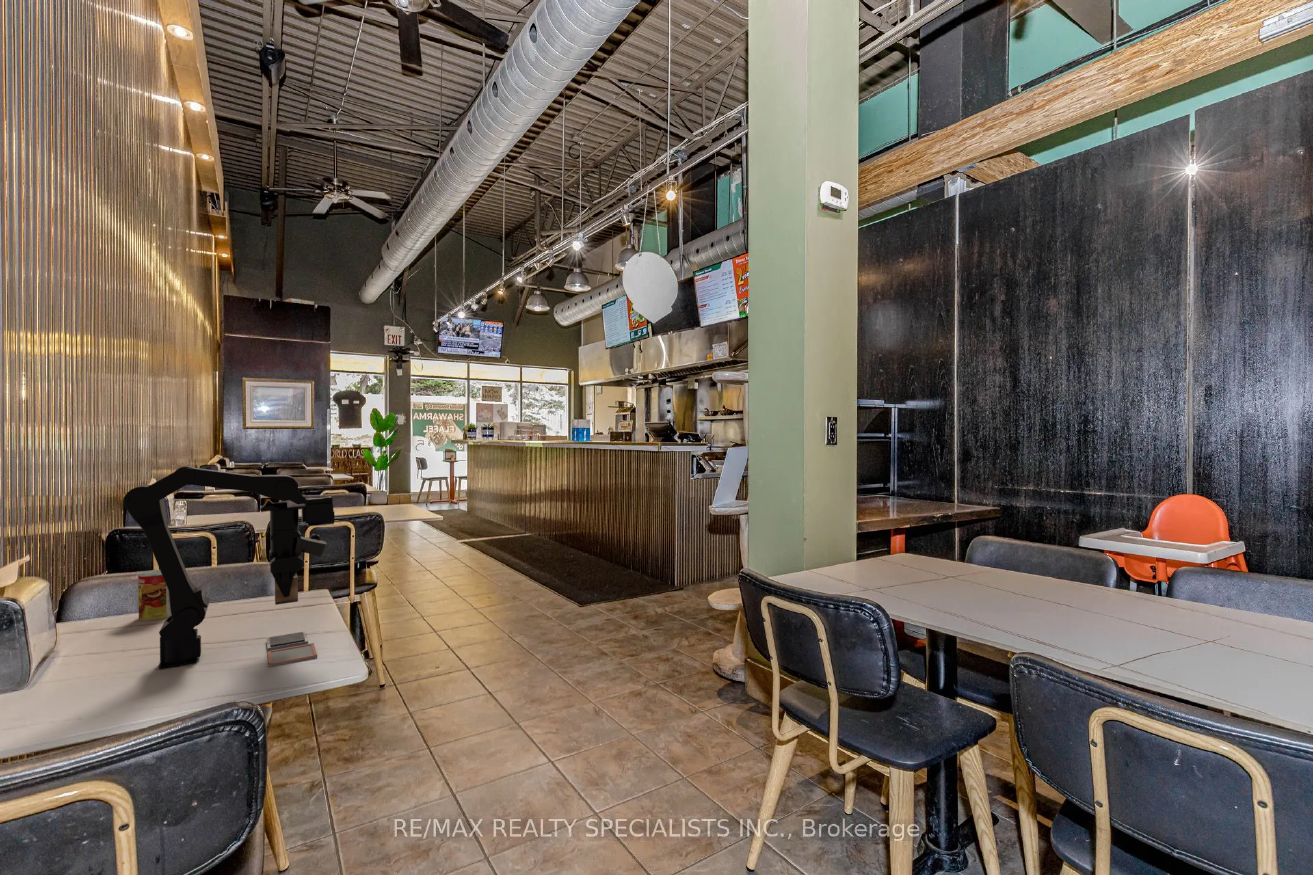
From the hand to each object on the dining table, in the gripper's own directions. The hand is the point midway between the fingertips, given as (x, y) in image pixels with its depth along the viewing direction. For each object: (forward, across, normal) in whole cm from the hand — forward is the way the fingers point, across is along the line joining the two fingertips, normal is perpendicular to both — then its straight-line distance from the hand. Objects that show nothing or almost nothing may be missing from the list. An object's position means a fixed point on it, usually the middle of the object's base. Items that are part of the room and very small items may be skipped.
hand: (286, 594), depth 141 cm
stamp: (+2, 0, 0) cm, 2 cm away
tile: (+12, -10, -1) cm, 15 cm away
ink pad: (+12, 0, 0) cm, 12 cm away
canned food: (+12, +45, +29) cm, 55 cm away
